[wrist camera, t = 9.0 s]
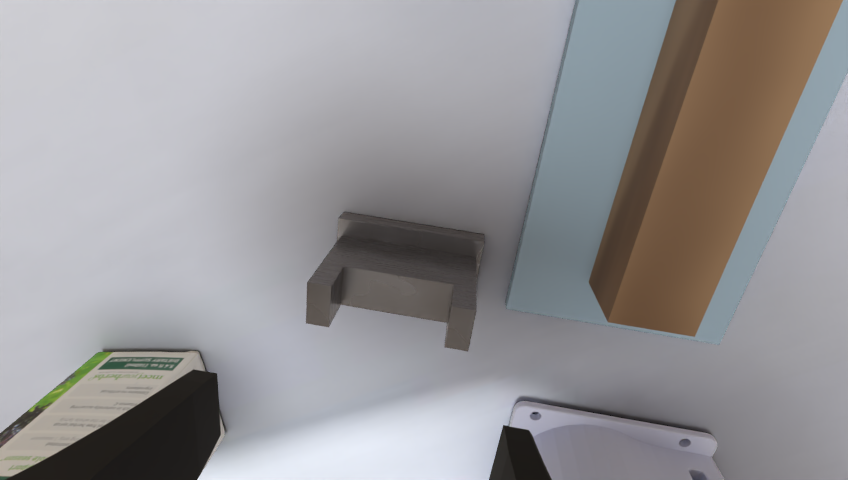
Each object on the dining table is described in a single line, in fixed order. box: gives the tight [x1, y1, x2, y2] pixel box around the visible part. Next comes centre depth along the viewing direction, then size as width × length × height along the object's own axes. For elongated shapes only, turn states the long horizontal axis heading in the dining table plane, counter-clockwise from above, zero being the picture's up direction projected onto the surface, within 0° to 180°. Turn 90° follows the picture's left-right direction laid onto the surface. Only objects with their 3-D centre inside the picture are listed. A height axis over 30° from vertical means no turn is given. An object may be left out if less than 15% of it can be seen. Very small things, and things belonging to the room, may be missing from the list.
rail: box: [589, 0, 843, 337], centre depth 14 cm, size 3×16×3 cm, turn 173°
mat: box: [506, 0, 848, 345], centre depth 16 cm, size 9×20×1 cm, turn 173°
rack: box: [306, 212, 484, 351], centre depth 15 cm, size 6×16×5 cm, turn 173°
